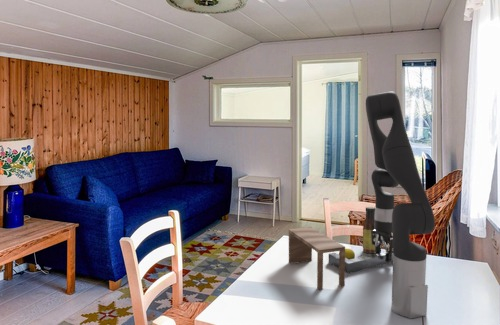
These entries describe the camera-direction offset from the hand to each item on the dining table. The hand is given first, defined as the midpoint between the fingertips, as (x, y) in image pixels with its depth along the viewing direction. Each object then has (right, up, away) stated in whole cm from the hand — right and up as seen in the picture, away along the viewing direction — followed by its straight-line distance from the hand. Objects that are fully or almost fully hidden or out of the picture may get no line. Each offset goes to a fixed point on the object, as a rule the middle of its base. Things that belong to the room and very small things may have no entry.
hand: (383, 258), depth 151 cm
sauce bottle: (-1, 0, +13) cm, 13 cm away
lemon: (-18, +1, -1) cm, 18 cm away
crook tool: (-6, -2, +2) cm, 7 cm away
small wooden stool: (-30, -3, -9) cm, 31 cm away
